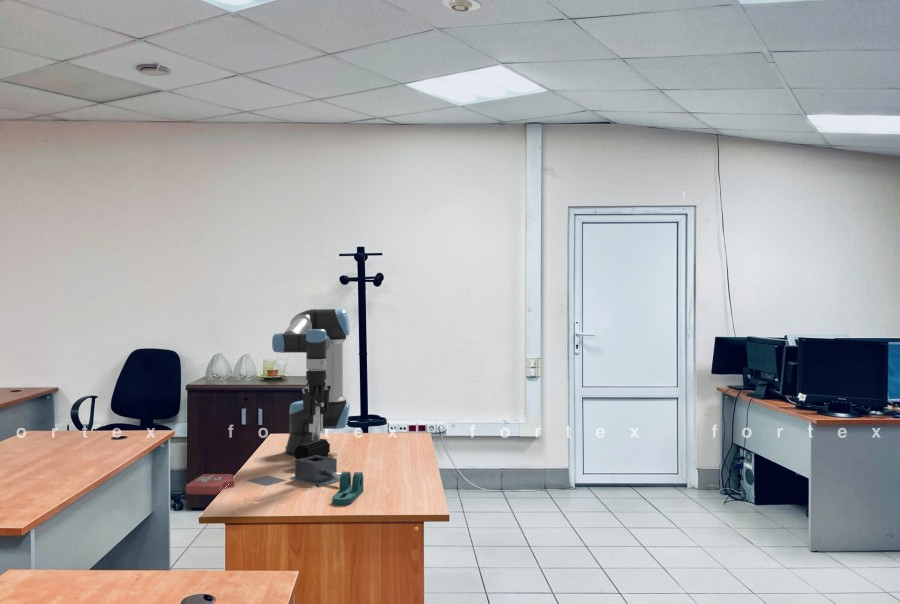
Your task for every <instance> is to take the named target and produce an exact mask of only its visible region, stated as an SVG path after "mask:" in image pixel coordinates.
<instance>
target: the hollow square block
mask: <svg viewBox="0 0 900 604" xmlns="http://www.w3.org/2000/svg"><path fill="white" fill-rule="evenodd" d="M337 464H338V459H337V458H335V457H330V456H328V457H325V456H320V455H314V456H310V457H306V458H301V459H297V460H296V459H294V476H292V477H289V480H293V481H298V482H303V483H306V484H310V485H314V487H318V488H320V487H323V486H326V485H327V486H328V485H330V484H331V485H332V484H333V483H338V482H340V476H341V473H342V472H341V473H339V472H338V471H337V470H338V469H337V466H338V465H337Z"/></svg>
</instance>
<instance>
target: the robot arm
mask: <svg viewBox="0 0 900 604" xmlns="http://www.w3.org/2000/svg"><path fill="white" fill-rule="evenodd" d="M349 335H350V320H349V315H348V313H347V311H346V310H345V309H339V308H338V309H337V308H333V309H332V308H331V309H330V308H328V309H327V308H321V309H319V308H318V309H317V308H314V309H307V310H304V311H302V312H299V313H298V314H296V315H295V316H293V317H292V318H291V320H290V323H289V326H288V327H287V328H286V330H285V331H284V332H283V333H282V332H279V333H274V334H273V335H272V338H271V339H272V340H271V341H272V342H271V345H272V346H271V347H272V350H273V352H275V353H281V354H287V353H288V354H289V353H294V354H295V353H297V354H298V353H303V354H304V353H306V355H305V356H306V361H305V369H306V371H305V373H306V375H305V379H306V381H307V382H306V386H305V387H304V388H303V387H302V388H301V389H300V392H301V394H302V400H299V401H294V402H292V403H291V404H290V405H289V413H288V415H289V433H288V435H289V437H288V439H287V444H286V446H285V447H284V448H285V449H284V450H285V454H286V455H289V456H295V448H296V447H297V446H298V445H299V444H303V443H306V442H310V441H313V440H312V432H313V433H315V432H316V415H314V409H315V402H322V403H324V407H320V432H323V431H324V430H327V429H328V430H329V429H331V430H332V429H333V430H334V429H335V430H337V429H338V430H339V429H345V428H346V427H347V424H348V422H349V421H348V420H349V417H350V416H349V415H350V406H351V405H350V403H349V402H347V398H346V397H345V395H344V379H343V377H344V367H343V365H344V362H343V361H344V359H343V358H344V355H343V353H344V349H343V348H344V347H343V346H344V345H343V343H344V342H345V341H346V340H347V336H349Z"/></svg>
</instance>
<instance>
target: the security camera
mask: <svg viewBox="0 0 900 604" xmlns="http://www.w3.org/2000/svg"><path fill="white" fill-rule="evenodd" d="M327 440H328V439H327V438H320V440H318V441H310V442H306V443H303V444H299V445H298V446H297V447H296V448H295V455H294V459H295V460H297V459H301V458H306V457H310V456H314V455H320V456H325V457H329V453H330V452H331V443H329V441H327Z"/></svg>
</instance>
